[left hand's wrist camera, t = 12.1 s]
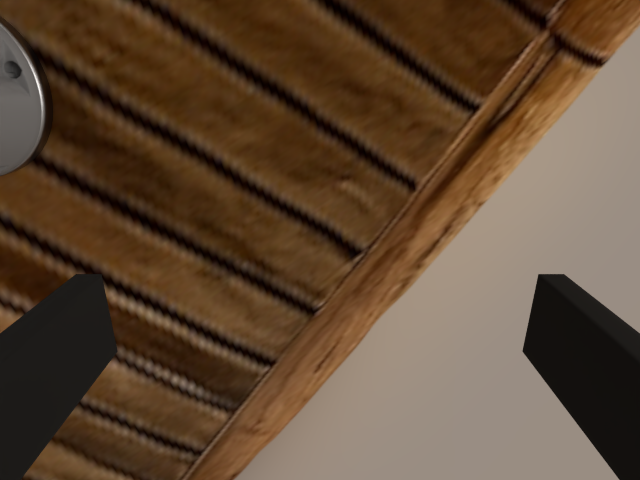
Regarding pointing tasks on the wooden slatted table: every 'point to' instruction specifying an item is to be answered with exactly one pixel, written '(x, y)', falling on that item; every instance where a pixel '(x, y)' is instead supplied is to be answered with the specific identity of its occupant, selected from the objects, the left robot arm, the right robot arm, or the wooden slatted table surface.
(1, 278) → the wooden slatted table surface
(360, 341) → the wooden slatted table surface
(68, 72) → the wooden slatted table surface
